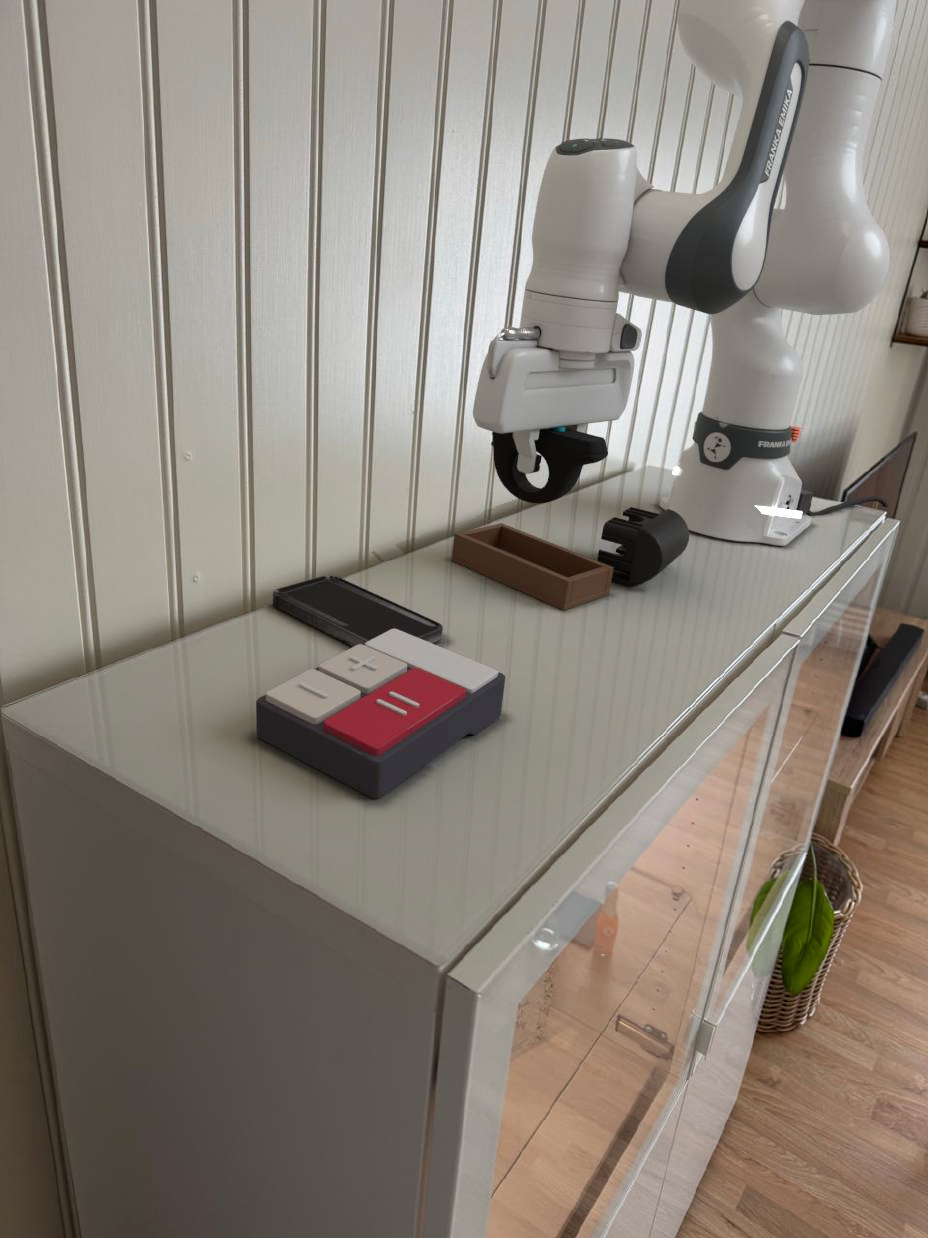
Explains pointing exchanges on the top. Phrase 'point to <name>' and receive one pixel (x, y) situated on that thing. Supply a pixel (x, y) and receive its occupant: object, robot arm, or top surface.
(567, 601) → the holder
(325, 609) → the phone
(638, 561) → the end cap
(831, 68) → the robot arm
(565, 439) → the controller
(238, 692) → the top surface
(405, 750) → the calculator
